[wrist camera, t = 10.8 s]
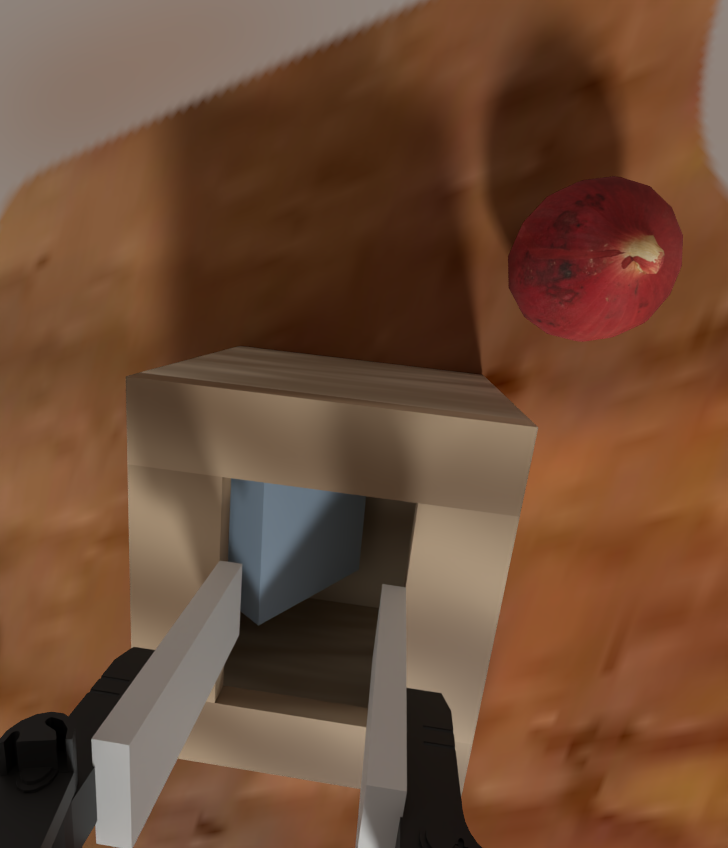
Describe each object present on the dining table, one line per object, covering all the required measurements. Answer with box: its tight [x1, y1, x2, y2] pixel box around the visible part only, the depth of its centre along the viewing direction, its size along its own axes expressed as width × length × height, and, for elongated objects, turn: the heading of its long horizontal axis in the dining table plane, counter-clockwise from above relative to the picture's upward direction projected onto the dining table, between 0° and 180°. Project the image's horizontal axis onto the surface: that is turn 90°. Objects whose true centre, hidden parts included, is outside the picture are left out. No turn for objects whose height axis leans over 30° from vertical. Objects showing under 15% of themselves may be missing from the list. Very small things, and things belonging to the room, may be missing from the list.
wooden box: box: [126, 346, 538, 796], centre depth 20 cm, size 14×12×10 cm
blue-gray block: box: [228, 478, 366, 626], centre depth 21 cm, size 6×4×6 cm
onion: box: [508, 176, 683, 342], centre depth 18 cm, size 6×6×8 cm
